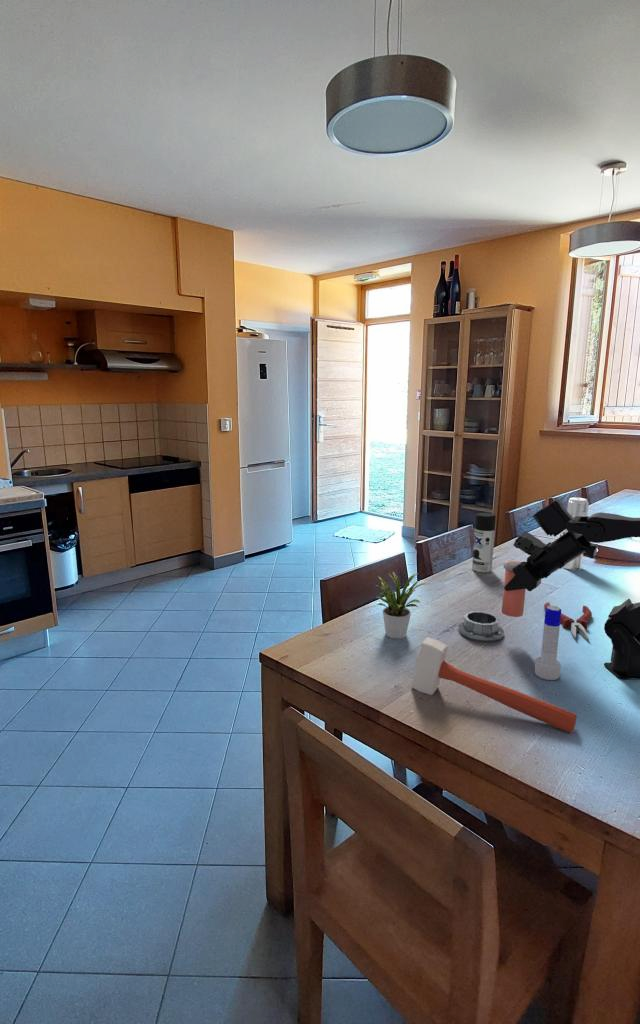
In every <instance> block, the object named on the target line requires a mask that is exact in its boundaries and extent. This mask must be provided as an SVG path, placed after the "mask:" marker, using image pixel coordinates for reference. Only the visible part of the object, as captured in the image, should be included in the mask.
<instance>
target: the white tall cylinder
mask: <svg viewBox="0 0 640 1024" xmlns="http://www.w3.org/2000/svg"><path fill="white" fill-rule="evenodd" d="M589 505H590V503H589V501H588V499H587V498H583V497H569V499H568V500H567V509H566V510H567V512H568V513H569V514H570V515H571V516H572V517H573V518H574V517H575V516H588V511H589ZM567 532H568V530H567V529H565V530H564V534H565V533H567ZM580 535H581V534H580ZM583 557H584V553H583V554H581V555H580V556H578V557H577V558H575V559H574V560H572V561H570V562H569V563H567V564H566V565H565V566H564V567H562V568H563V569H565V570H570V571H580V570H582V566H583Z"/></svg>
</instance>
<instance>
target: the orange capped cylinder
mask: <svg viewBox="0 0 640 1024" xmlns="http://www.w3.org/2000/svg"><path fill="white" fill-rule="evenodd" d="M521 562H522V561H520V560H506V561H503V569H505V572H504V580H503V581H504V583H503V584H504V585H503V595H502V601H501V603H502V604H501V614H503V615H505V616H508V617H512V618H520V617H523V615H524V609H525V602H526V601H525V600H526V599H525V598H526V590H527V589H519V590H511V591H506V590H505V589H504V587H505V585H506V584H507V583H508V582H509V581H510V580H511V579H512V578H513V577H514V576H515V574H514V572H513V570H512V569H513V568H514V567H516V566H517V565H518V564H520V563H521Z"/></svg>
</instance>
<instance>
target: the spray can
mask: <svg viewBox="0 0 640 1024" xmlns="http://www.w3.org/2000/svg"><path fill="white" fill-rule="evenodd" d="M495 532H496V514H494V513H489V512H480V513H476V514H475V522H474V534H473V535H474V536H473V537H474V538H473V550H472V564H471V565H472V566H471V568H472V571H474V572H475V573H476V572H477V573H480V574H488V573H491V572H492V570H493V559H494V557H493V556H494V544H495Z"/></svg>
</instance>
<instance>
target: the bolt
mask: <svg viewBox="0 0 640 1024" xmlns="http://www.w3.org/2000/svg"><path fill="white" fill-rule="evenodd" d="M561 613H562V609H561V608H560V607H559V606H557V605H550V606H547V607H546V609H544V622H543V630H542V640H541V642H542V643H541V651H540V656H538V657H536V658H535V663H534V665H535V666H534V674H535V675H536V676H537V677H539V678H540V679H542V680H545V681H546V680H547V681H556V680H558V679H559V678H560V675H561V661H559V660H558V659H557V658H558V657H557V656H558V647H559V636H560V627H561V623H560V619H561Z"/></svg>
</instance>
